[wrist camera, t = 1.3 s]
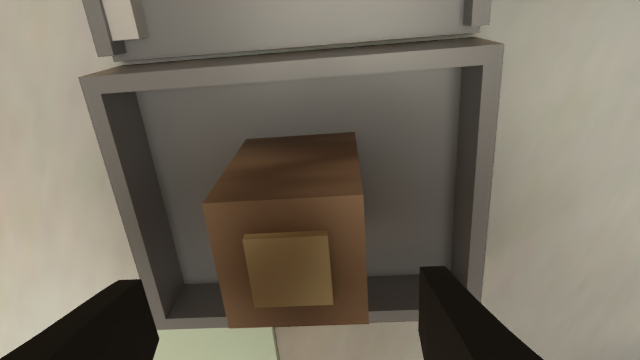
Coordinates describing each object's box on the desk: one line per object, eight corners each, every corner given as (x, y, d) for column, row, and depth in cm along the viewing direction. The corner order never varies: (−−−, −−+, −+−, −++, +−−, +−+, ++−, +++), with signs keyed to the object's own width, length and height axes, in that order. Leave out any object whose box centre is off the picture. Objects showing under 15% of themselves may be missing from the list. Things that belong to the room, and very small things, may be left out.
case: (474, 36, 16) (504, 43, 13) (459, 275, 20) (479, 318, 17) (121, 65, 17) (78, 77, 14) (179, 287, 21) (155, 330, 18)
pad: (269, 299, 21) (268, 304, 21) (284, 396, 24) (283, 403, 23) (137, 304, 21) (133, 309, 21) (167, 399, 24) (164, 405, 24)
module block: (354, 131, 17) (364, 199, 11) (359, 228, 18) (369, 330, 13) (245, 139, 17) (198, 208, 11) (260, 233, 19) (226, 335, 13)
